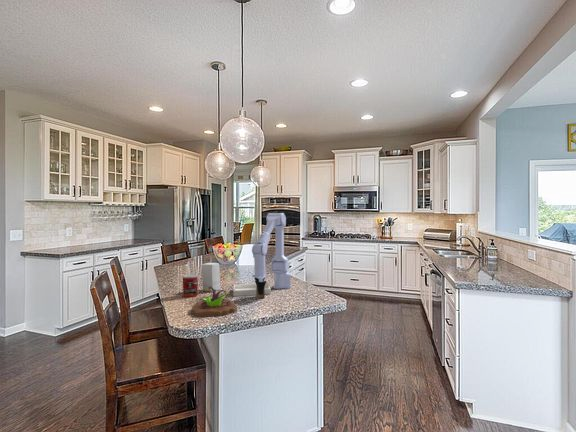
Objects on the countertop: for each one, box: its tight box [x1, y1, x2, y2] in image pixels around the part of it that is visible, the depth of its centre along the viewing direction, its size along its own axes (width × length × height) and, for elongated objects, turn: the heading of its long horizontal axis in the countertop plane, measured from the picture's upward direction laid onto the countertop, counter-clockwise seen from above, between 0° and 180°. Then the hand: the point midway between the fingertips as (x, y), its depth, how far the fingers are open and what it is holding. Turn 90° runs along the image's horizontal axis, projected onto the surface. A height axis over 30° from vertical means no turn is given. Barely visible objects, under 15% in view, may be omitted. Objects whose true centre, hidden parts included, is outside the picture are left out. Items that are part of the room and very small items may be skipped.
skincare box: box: [201, 262, 221, 293], centre depth 180 cm, size 8×7×16 cm
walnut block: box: [255, 286, 266, 300], centre depth 163 cm, size 4×4×6 cm
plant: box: [191, 287, 238, 318], centre depth 143 cm, size 20×20×11 cm
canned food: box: [182, 273, 199, 299], centre depth 169 cm, size 8×8×11 cm
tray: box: [232, 282, 272, 297], centre depth 175 cm, size 20×14×3 cm
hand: (260, 292), depth 163 cm, fingers open, 7 cm apart
